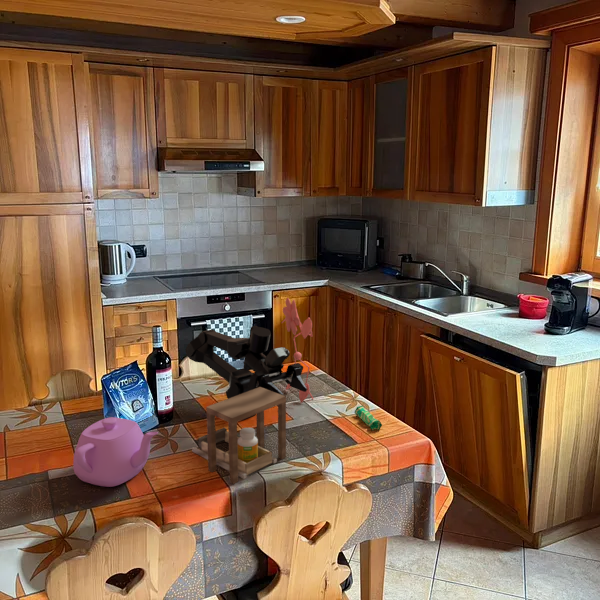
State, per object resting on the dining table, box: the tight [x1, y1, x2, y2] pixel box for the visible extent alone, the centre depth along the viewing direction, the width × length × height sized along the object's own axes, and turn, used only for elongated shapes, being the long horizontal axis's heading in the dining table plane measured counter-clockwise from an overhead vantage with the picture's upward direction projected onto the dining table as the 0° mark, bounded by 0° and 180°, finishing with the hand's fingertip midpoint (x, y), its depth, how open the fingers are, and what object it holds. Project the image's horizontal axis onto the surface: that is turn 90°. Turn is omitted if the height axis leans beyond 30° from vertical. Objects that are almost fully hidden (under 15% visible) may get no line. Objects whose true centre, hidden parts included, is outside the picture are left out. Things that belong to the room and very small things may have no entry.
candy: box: [354, 405, 383, 431], centre depth 188 cm, size 12×3×4 cm
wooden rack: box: [198, 427, 273, 476], centre depth 165 cm, size 20×9×4 cm, turn 47°
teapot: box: [72, 416, 159, 488], centre depth 153 cm, size 23×21×15 cm
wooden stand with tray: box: [191, 387, 287, 485], centre depth 164 cm, size 22×19×18 cm
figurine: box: [281, 297, 314, 410], centre depth 203 cm, size 15×26×35 cm, turn 22°
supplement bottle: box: [238, 427, 258, 463], centre depth 161 cm, size 5×5×10 cm
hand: (294, 393), depth 172 cm, fingers open, 9 cm apart
